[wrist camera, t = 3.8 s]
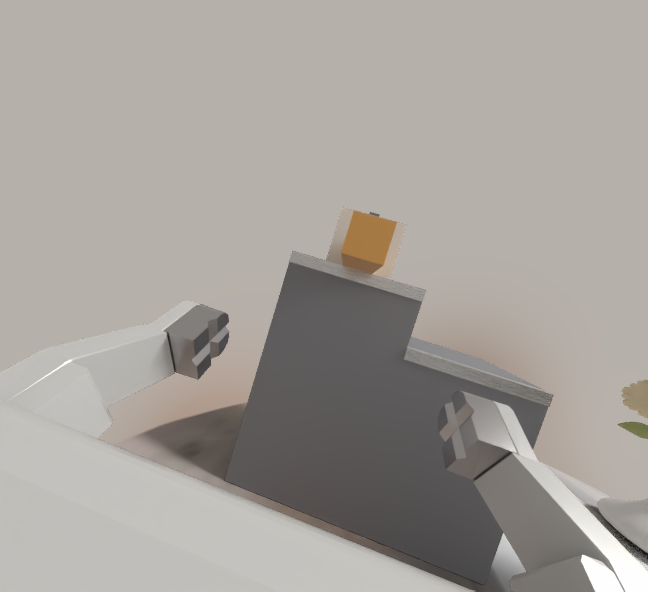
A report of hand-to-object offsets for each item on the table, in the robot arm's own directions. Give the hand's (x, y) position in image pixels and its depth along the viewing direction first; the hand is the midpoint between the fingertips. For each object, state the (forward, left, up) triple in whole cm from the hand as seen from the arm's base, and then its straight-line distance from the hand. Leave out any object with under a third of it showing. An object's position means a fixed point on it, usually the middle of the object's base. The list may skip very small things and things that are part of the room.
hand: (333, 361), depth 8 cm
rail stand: (-14, -18, -21) cm, 31 cm away
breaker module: (-6, -17, +5) cm, 18 cm away
